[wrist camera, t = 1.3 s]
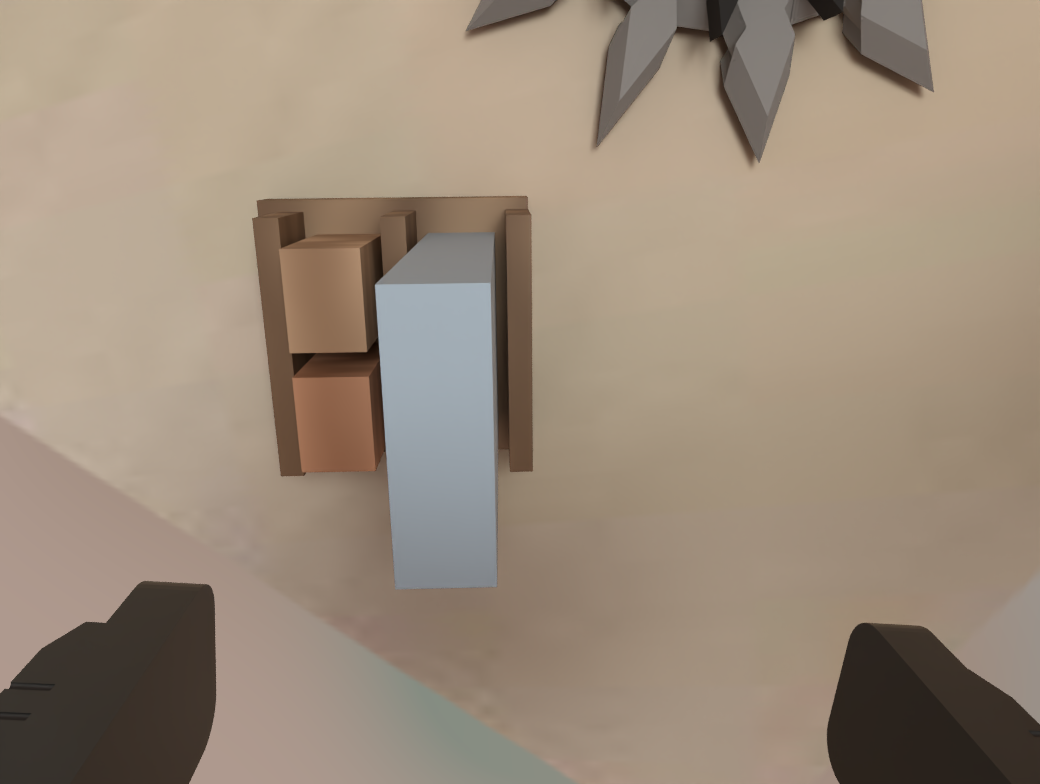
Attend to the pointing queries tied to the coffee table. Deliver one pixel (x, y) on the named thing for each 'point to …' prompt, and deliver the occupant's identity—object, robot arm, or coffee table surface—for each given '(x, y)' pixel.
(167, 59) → the coffee table surface
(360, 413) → the offcut
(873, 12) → the decorative piece
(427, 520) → the tall board
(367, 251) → the offcut
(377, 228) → the rack
